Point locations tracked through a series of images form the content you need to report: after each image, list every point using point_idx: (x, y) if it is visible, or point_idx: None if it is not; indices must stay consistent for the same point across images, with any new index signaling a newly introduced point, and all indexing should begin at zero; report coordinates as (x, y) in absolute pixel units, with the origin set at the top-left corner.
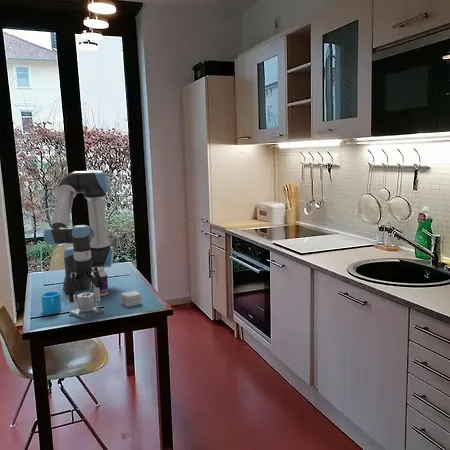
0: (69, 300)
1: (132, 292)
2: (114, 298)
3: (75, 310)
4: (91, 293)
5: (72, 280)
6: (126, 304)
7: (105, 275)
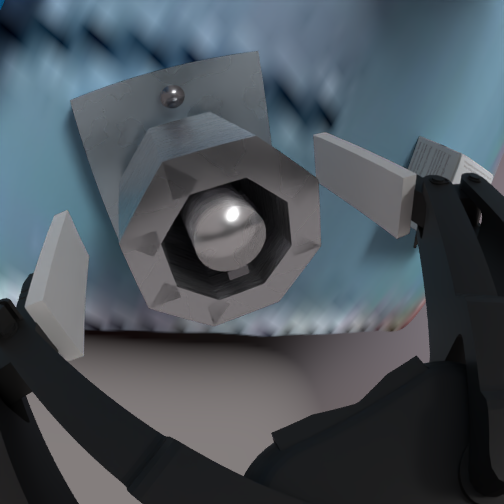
0: (21, 292)
1: None
2: (438, 43)
3: (119, 113)
4: (301, 237)
5: None
6: None
7: None
